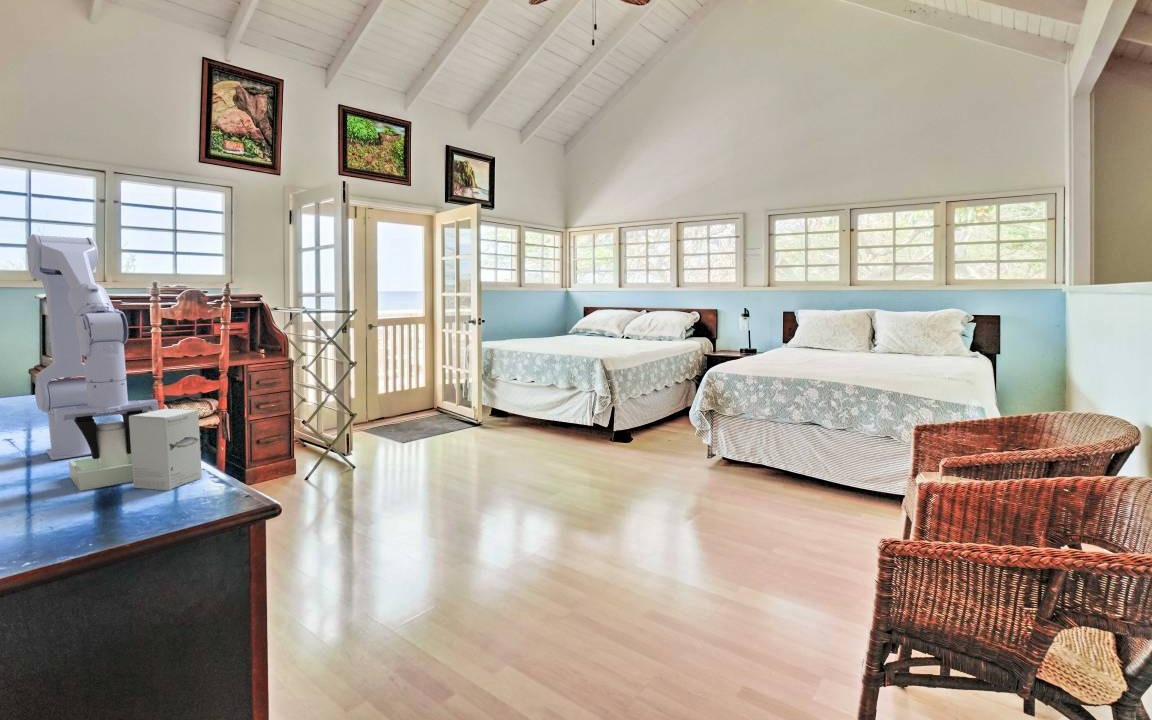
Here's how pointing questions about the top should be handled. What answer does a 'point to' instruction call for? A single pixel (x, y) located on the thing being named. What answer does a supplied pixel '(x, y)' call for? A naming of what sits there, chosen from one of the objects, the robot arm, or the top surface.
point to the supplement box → (165, 448)
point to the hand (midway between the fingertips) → (112, 455)
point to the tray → (98, 473)
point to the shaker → (111, 444)
